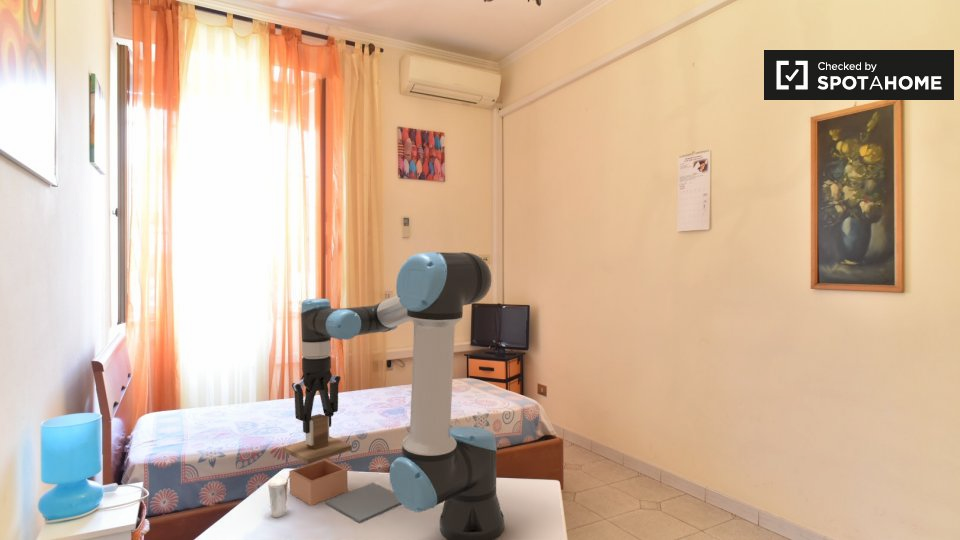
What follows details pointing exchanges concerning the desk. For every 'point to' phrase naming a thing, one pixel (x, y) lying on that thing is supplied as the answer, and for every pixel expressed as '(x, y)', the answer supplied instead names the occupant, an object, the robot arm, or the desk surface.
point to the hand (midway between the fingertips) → (317, 441)
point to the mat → (365, 502)
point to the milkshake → (278, 495)
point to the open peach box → (318, 481)
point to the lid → (318, 443)
